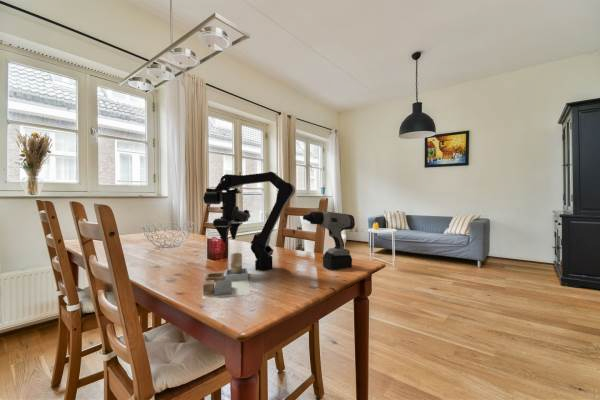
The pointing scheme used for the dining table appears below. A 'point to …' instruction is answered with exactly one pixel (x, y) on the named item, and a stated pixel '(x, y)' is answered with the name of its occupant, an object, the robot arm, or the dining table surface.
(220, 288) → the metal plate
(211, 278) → the dowel socket
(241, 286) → the bench board
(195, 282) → the dining table surface
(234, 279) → the parts tray
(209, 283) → the bench dog
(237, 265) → the oak dowel
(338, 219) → the cordless drill
